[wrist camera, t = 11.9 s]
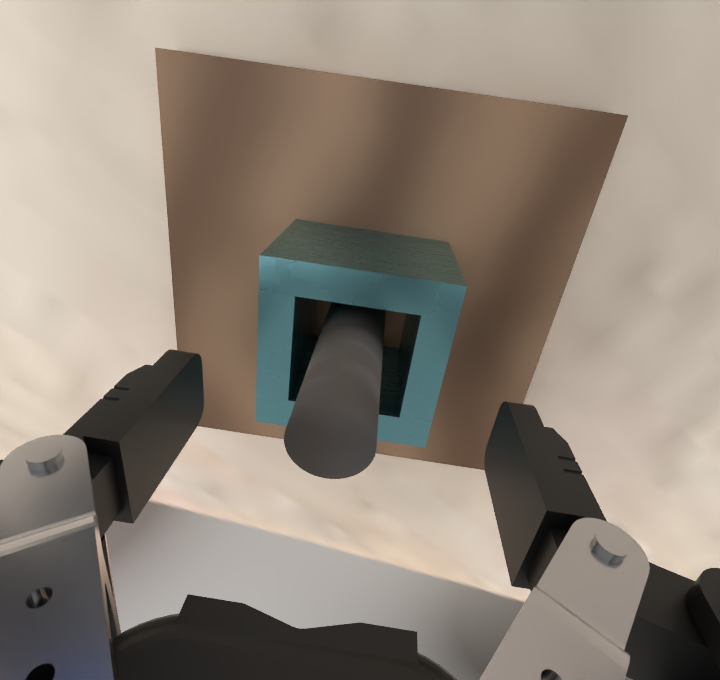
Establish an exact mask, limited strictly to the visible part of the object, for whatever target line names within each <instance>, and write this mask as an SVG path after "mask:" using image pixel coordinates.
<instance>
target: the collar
mask: <svg viewBox="0 0 720 680" xmlns="http://www.w3.org/2000/svg"><path fill="white" fill-rule="evenodd" d="M466 288H467V285H466V283H465V280H464V278H463V275H462V273H461V270H460V268H459V265H458V263H457V260H456V258H455V255H454V253H453V251H452V248H451V246H450V243H449V242H446V241H440V240H433V239H426V238H420V237H413V236H406V235H400V234H393V233H386V232H380V231H373V230H366V229H360V228H353V227H346V226H340V225H333V224H326V223H320V222H313V221H306V220H300V219H295V220H294V221H293V222H292V223H291V224H290V225H289V226H288V227H287V228H286V229H285V230H284V231H283V232H282V233H281V234H280V235H279V236H278V237H277V238H276V239H275V240H274V241H273V242H272V243H271V244H270V245H269V246H268V247H267V248H266V249H265V250H264V251H263V252H262V253H261V254H260V255H259V292H258V332H257V373H256V413H255V421H257V422H263V423H270V424H276V425H282V426H287V424H288V421H289V418H290V416H291V413H292V410H293V407H294V405H295V402H296V399H297V396H298V393H299V391H300V388H301V385H302V382H303V380H304V377H305V374H306V371H307V369H308V366H309V363H310V360H311V358H312V355H313V352H314V349H315V346H316V344H317V341H318V338H319V336H317V335H314V325H315V314H316V303H317V300H323V301H329V302H336V303H342V304H349V305H355V306H362V307H369V308H375V309H382V310H388V311H395V312H402V313H406V316H405V321H404V326H403V331H402V336H401V341H400V347H399V348H396V347H390V346H383V357H382V372H381V387H380V402H379V417H378V432H377V440H379V441H386V442H392V443H399V444H405V445H412V446H418V447H424V448H425V447H426V443H427V439H428V435H429V431H430V428H431V424H432V420H433V416H434V412H435V408H436V404H437V401H438V397H439V393H440V389H441V385H442V381H443V377H444V373H445V370H446V366H447V362H448V358H449V354H450V350H451V346H452V342H453V339H454V335H455V331H456V327H457V323H458V319H459V315H460V312H461V308H462V304H463V300H464V296H465V292H466Z"/></svg>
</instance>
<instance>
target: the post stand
mask: <svg viewBox="0 0 720 680" xmlns="http://www.w3.org/2000/svg"><path fill="white" fill-rule="evenodd" d="M155 52H156V66H157V79H158V93H159V106H160V120H161V133H162V147H163V160H164V174H165V188H166V201H167V215H168V228H169V242H170V255H171V269H172V282H173V296H174V309H175V323H176V336H177V350H178V351H184V352H191V353H197V354H199V355H200V356H201V358H202V369H203V389H204V409H203V414H202V417H201V420H200V422H199V424H198V426H201V427H208V428H214V429H221V430H227V431H234V432H240V433H247V434H254V435H260V436H267V437H273V438H280V439H284V444H285V448H286V451H287V453H288V455H289V456H290V458H291V459H292V460H293V461H294V463H295V464H297V465H298V466H299V467H300V468H302V469H303V470H305V471H306V472H308V473H310V474H313V475H315V476H319V477H323V478H329V479H340V478H347V477H350V476H353V475H356V474H358V473H360V472H361V471H363V470H364V469H365V468H367V467H368V466H369V464H370V463H371V462H372V460H373V458H374V456H375V453H377V454H384V455H390V456H397V457H403V458H410V459H417V460H423V461H430V462H436V463H443V464H449V465H456V466H462V467H469V468H475V469H482V470H485V466H484V459H485V450H486V446H487V443H488V440H489V437H490V434H491V431H492V428H493V425H494V422H495V420H496V417H497V414H498V411H499V408H500V406H501V404H502V403H503V402H504V401H505V402H512V403H519V404H523V401H524V399H525V396H526V393H527V390H528V388H529V385H530V382H531V379H532V377H533V374H534V371H535V368H536V366H537V363H538V360H539V358H540V355H541V352H542V349H543V347H544V344H545V341H546V338H547V336H548V333H549V330H550V328H551V325H552V322H553V319H554V317H555V314H556V311H557V308H558V306H559V303H560V300H561V298H562V295H563V292H564V289H565V287H566V284H567V281H568V278H569V276H570V273H571V270H572V268H573V265H574V262H575V259H576V257H577V254H578V251H579V248H580V246H581V243H582V240H583V238H584V235H585V232H586V229H587V227H588V224H589V221H590V218H591V216H592V213H593V210H594V207H595V205H596V202H597V199H598V197H599V194H600V191H601V188H602V186H603V183H604V180H605V177H606V175H607V172H608V169H609V167H610V164H611V161H612V158H613V156H614V153H615V150H616V147H617V145H618V142H619V139H620V137H621V134H622V131H623V128H624V126H625V123H626V120H627V117H628V116H627V115H620V114H613V113H606V112H599V111H592V110H585V109H578V108H571V107H564V106H557V105H550V104H543V103H536V102H529V101H522V100H516V99H509V98H502V97H495V96H488V95H481V94H474V93H467V92H460V91H453V90H446V89H439V88H432V87H425V86H418V85H411V84H404V83H397V82H390V81H383V80H376V79H369V78H363V77H356V76H349V75H342V74H335V73H328V72H321V71H314V70H307V69H300V68H293V67H286V66H279V65H272V64H265V63H258V62H251V61H244V60H237V59H230V58H223V57H216V56H209V55H203V54H196V53H189V52H182V51H175V50H168V49H161V48H155ZM295 219H300V220H306V221H313V222H320V223H326V224H333V225H340V226H346V227H353V228H360V229H366V230H373V231H380V232H386V233H393V234H400V235H406V236H413V237H420V238H426V239H433V240H440V241H446V242H449V243H450V246H451V248H452V251H453V253H454V255H455V258H456V260H457V263H458V265H459V268H460V270H461V273H462V275H463V278H464V280H465V283H466V285H467V288H466V292H465V296H464V300H463V304H462V308H461V312H460V315H459V319H458V323H457V327H456V331H455V335H454V339H453V342H452V346H451V350H450V354H449V358H448V362H447V366H446V370H445V373H444V377H443V381H442V385H441V389H440V393H439V397H438V401H437V404H436V408H435V412H434V416H433V420H432V424H431V428H430V431H429V435H428V439H427V443H426V447H425V448H424V447H418V446H412V445H405V444H399V443H392V442H386V441H379V440H377V432H378V417H379V402H380V387H381V372H382V357H383V346H390V347H396V348H399V347H400V341H401V336H402V331H403V326H404V321H405V316H406V313H402V312H395V311H388V310H382V309H375V308H369V307H362V306H355V305H349V304H342V303H336V302H329V301H323V300H317V303H316V314H315V325H314V335H317V336H319V338H318V341H317V344H316V346H315V349H314V352H313V355H312V358H311V360H310V363H309V366H308V369H307V371H306V374H305V377H304V380H303V382H302V385H301V388H300V391H299V393H298V396H297V399H296V402H295V405H294V407H293V410H292V413H291V416H290V418H289V421H288V424H287V426H282V425H276V424H270V423H263V422H257V421H255V413H256V373H257V332H258V292H259V255H260V254H261V253H262V252H263V251H264V250H265V249H266V248H267V247H268V246H269V245H270V244H271V243H272V242H273V241H274V240H275V239H276V238H277V237H278V236H279V235H280V234H281V233H282V232H283V231H284V230H285V229H286V228H287V227H288V226H289V225H290V224H291V223H292V222H293V221H294V220H295Z"/></svg>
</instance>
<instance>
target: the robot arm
mask: <svg viewBox="0 0 720 680" xmlns="http://www.w3.org/2000/svg"><path fill="white" fill-rule="evenodd" d="M203 409H204V389H203V369H202V358H201V356H200V355H199V354H197V353H191V352H184V351H177V350H168V351H167V352H166V353H165V354H164V355H163V356H162V357H161V358H160V359H159V360H158V361H157V362H156V363H155V364H154V365H153V366H151V365H144V366H142V367H140V368H138V369H136V370H134V371H132V372H130V373H128V374H127V375H126V376H125V377H123V378H122V379H121V380H120V381H119V382H118V383H117V384H116V385H115V386H114V389H111V390H110V391H109V392H108V393H107V394H105V395H104V398H103V399H100V400H99V401H98V402H97V403H96V404H95V405H94V406H93V407H92V408H91V409H90V410H89V411H88V412H86V413H85V414H84V415H83V416H82V417H81V418H80V419H79V420H78V421H77V422H76V423H75V424H74V425H73V426H72V427H71V428H70V429H68V430H67V431H66V432H65V433H64V434H63V435H51V436H46V437H42V438H38V439H35V440H32V441H30V442H27V443H25V444H23V445H21V446H20V447H18V448H16V449H15V450H13V451H12V452H11V453H10V454H9V455H8V456H7V457H6V458H5V459H4V460H0V680H457V679H456V678H454V676H453V675H451V674H450V673H449V672H448V671H446V670H445V669H444V668H442V667H441V666H440V665H439V664H437V663H435V662H434V661H432V660H431V659H429V658H427V657H426V656H424V655H422V654H420V653H418V652H417V632H414V631H409V630H402V629H396V628H390V627H384V626H378V625H371V624H365V623H353V624H344V625H335V626H326V627H317V628H308V629H298V628H295V627H292V626H290V625H288V624H286V623H284V622H282V621H279V620H277V619H275V618H273V617H271V616H269V615H267V614H265V613H263V612H261V611H258V610H256V609H254V608H252V607H250V606H248V605H246V604H243V603H237V602H231V601H225V600H218V599H213V598H207V597H201V596H194V595H187V598H186V600H185V602H184V604H183V607H182V609H181V611H180V613H179V614H174V615H168V616H164V617H160V618H156V619H153V620H150V621H147V622H145V623H142V624H139V625H137V626H135V627H133V628H131V629H129V630H126V631H125V632H123V633H121V630H120V624H119V619H118V613H117V607H116V600H115V594H114V587H113V580H112V573H111V567H110V560H109V553H108V546H107V539H106V535H105V532H106V531H107V529H108V528H109V527H110V525H111V524H112V522H113V521H114V520H115V521H120V522H127V523H134V522H135V520H136V519H137V517H138V516H139V514H140V513H141V511H142V509H143V508H144V506H145V505H146V503H147V502H148V500H149V499H150V497H151V496H152V494H153V493H154V491H155V490H156V488H157V487H158V485H159V484H160V482H161V481H162V479H163V478H164V476H165V474H166V473H167V471H168V470H169V468H170V467H171V465H172V464H173V462H174V461H175V459H176V458H177V456H178V455H179V453H180V452H181V450H182V449H183V447H184V446H185V444H186V443H187V441H188V439H189V438H190V436H191V435H192V433H193V432H194V430H195V429H196V427H197V426H198V424H199V422H200V420H201V417H202V414H203ZM484 466H485V473H486V477H487V481H488V486H489V490H490V494H491V499H492V503H493V507H494V512H495V516H496V520H497V525H498V529H499V533H500V538H501V542H502V546H503V550H504V555H505V559H506V563H507V568H508V572H509V576H510V581H511V585H512V586H514V587H520V588H527V589H530V590H531V593H530V595H529V596H528V598H527V600H526V601H525V603H524V605H523V607H522V609H521V610H520V612H519V613H518V615H517V617H516V618H515V620H514V622H513V624H512V625H511V627H510V629H509V631H508V632H507V634H506V635H505V637H504V639H503V641H502V642H501V644H500V646H499V648H498V649H497V651H496V653H495V654H494V656H493V658H492V659H491V661H490V663H489V665H488V666H487V668H486V670H485V671H484V673H483V675H482V676H481V678H480V680H625V676H627V677H629V678H631V679H633V680H720V568H710V569H706V570H705V571H703V572H702V573H701V575H700V576H699V577H698V579H697V580H696V581H693V580H690V579H688V578H685V577H683V576H681V575H678V574H676V573H673V572H671V571H669V570H666V569H664V568H661V567H659V566H656V565H654V564H652V563H650V562H649V561H648V558H647V556H646V554H645V552H644V551H643V549H642V548H641V547H640V545H639V544H638V543H637V542H636V541H635V540H634V539H633V538H632V537H631V536H630V535H628V534H627V533H626V532H625V531H623V530H622V529H620V528H619V527H617V526H615V525H613V524H611V523H609V522H607V521H606V519H605V517H604V515H603V513H602V511H601V509H600V507H599V505H598V503H597V501H596V499H595V497H594V495H593V493H592V491H591V489H590V487H589V485H588V483H587V481H586V479H585V477H584V475H582V471H581V469H580V467H579V465H578V463H577V462H575V457H574V455H573V453H572V451H571V449H570V447H569V445H568V443H567V442H566V441H565V440H564V439H563V438H562V437H561V436H560V435H559V434H558V433H557V432H556V431H555V430H554V429H553V428H549V427H544V426H543V423H542V421H541V419H540V417H539V414H538V412H537V410H536V408H535V407H534V406H532V405H525V404H519V403H512V402H505V401H504V402H503V403H502V404H501V406H500V408H499V411H498V414H497V417H496V420H495V422H494V425H493V428H492V431H491V434H490V437H489V440H488V443H487V446H486V450H485V459H484Z"/></svg>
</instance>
